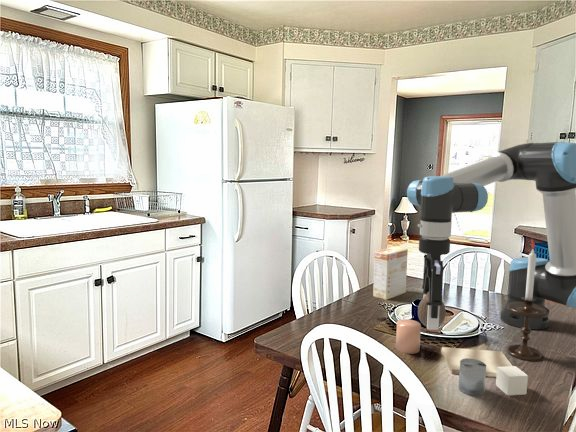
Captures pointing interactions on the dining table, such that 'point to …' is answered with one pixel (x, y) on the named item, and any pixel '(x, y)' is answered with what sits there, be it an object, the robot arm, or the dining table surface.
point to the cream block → (511, 380)
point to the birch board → (486, 356)
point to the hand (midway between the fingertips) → (430, 323)
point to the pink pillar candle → (408, 336)
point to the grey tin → (472, 377)
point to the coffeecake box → (390, 272)
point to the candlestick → (527, 315)
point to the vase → (424, 311)
